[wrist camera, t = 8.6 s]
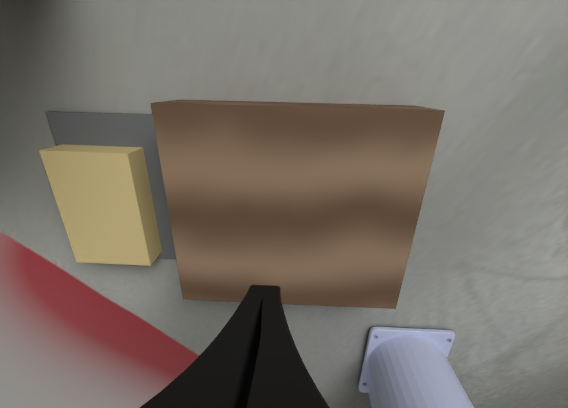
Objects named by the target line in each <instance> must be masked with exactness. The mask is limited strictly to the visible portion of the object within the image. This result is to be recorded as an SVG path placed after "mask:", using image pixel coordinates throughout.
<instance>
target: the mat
mask: <svg viewBox="0 0 568 408" xmlns="http://www.w3.org/2000/svg"><path fill="white" fill-rule="evenodd" d="M46 115H47V118H48V121H49V124H50V128H51V131H52V134H53V137H54V140H55V143H56V146H58V145H62V144H65V145H91V146H117V147H143V149H144V155H145V160H146V166H147V171H148V177H149V183H150V188H151V194H152V199H153V205H154V210H155V216H156V221H157V227H158V232H159V238H160V243H161V249H162V252H161V253H160V255H159V256H158V257H157V258H170V259H176V253H175V247H174V241H173V235H172V229H171V223H170V217H169V211H168V205H167V199H166V193H165V187H164V181H163V175H162V169H161V163H160V157H159V151H158V145H157V139H156V133H155V127H154V121H153V115H152V114H123V113H86V112H46Z"/></svg>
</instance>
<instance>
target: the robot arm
mask: <svg viewBox="0 0 568 408" xmlns="http://www.w3.org/2000/svg"><path fill="white" fill-rule="evenodd" d="M374 335H375V336H374ZM454 339H455V334H454V332H453V331H451V330H435V329H413V328H392V327H372V328H371V329H370V331H369V336H368V341H367V346H366V351H365V356H364V360H363V365H362V370H361V375H360V380H359V385H358V389H359V391H360V392H362V393H368V394H369V398H370V403H371V407H372V408H474V407H473V405H472V403H471V402H470V400H469V398H468V396H467V394H466V393H465V391H464V389H463V387H462V385H461V384H460V382H459V380H458V378H457V376H456V375H455V373H454V371H453V369H452V367H451V366H450V364H449V362H448V360H447V357H448V354H449V351H450V349H451V346H452V344H453V341H454ZM140 408H330V407H329V406H328V404H327V403H326V401H325V400H324V398H323V397H322V395H321V393H320V392H319V390H318V389H317V387H316V385H315V383H314V382H313V380H312V378H311V376H310V374H309V373H308V371H307V369H306V367H305V365H304V363H303V361H302V359H301V357H300V355H299V353H298V350H297V348H296V346H295V343H294V341H293V338H292V336H291V333H290V330H289V327H288V324H287V321H286V318H285V314H284V311H283V307H282V302H281V294H280V287H279V286H272V285H251V286H250V288H249V290H248V292H247V293H246V295H245V297H244V299H243V300H242V302H241V304H240V305H239V307H238V308H237V310H236V311H235V313H234V314H233V316H232V317H231V319H230V320H229V321H228V323H227V324H226V325H225V327H224V328H223V329H222V331H221V332H220V333H219V334H218V336H217V337H216V338H215V339H214V340H213V342H212V343H211V344H210V345H209V346H208V347H207V348H206V350H205V351H204V352H203V353H202V354H201V355H200V356H199V357H198V358H197V359H196V360H195V361H194V362H193V363H192V364H191V365H190V366H189V367H188V368H187V369H186V370H185V371H184V372H183V373H181V374H180V375H179V376H178V377H177V378H176V379H175V380H174V381H172V382H171V383H170V384H169V385H168V386H167V387H166V388H165V389H163V390H162V391H161V392H160V393H158V394H157V395H156V396H154V397H153V398H152V399H151V400H149V401H148V402H147V403H145V404H144V405H143V406H141V407H140Z"/></svg>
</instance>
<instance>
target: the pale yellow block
mask: <svg viewBox="0 0 568 408" xmlns="http://www.w3.org/2000/svg"><path fill="white" fill-rule="evenodd" d="M39 152H40V155H41V158H42V161H43V164H44V167H45V170H46V173H47V176H48V179H49V182H50V185H51V188H52V191H53V194H54V197H55V199H56V202H57V205H58V208H59V211H60V214H61V217H62V220H63V223H64V226H65V229H66V232H67V235H68V238H69V241H70V244H71V247H72V250H73V253H74V256H75V259H76V261H77V262H85V263H106V264H126V265H147V266H151V265H152V263H153V262H154V261H155V260H156V258H157V257H158V256H159V255H160V253H161V252H162V249H161V243H160V238H159V232H158V227H157V221H156V216H155V210H154V205H153V199H152V194H151V188H150V183H149V177H148V171H147V166H146V160H145V155H144V149H143V147H117V146H91V145H65V144H62V145H58V146H54V147H50V148H46V149H42V150H39Z"/></svg>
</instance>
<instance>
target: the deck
mask: <svg viewBox="0 0 568 408" xmlns="http://www.w3.org/2000/svg"><path fill="white" fill-rule="evenodd" d="M151 109H152V115H153V121H154V127H155V133H156V139H157V145H158V151H159V157H160V163H161V169H162V175H163V181H164V187H165V193H166V199H167V205H168V211H169V217H170V223H171V229H172V235H173V241H174V247H175V253H176V259H177V265H178V271H179V277H180V283H181V289H182V295H183V299H188V300H210V301H233V302H242V300H243V299H244V297H245V295H246V293H247V292H248V290H249V288H250V286H251V285H272V286H279V287H280V294H281V302H282V304H300V305H322V306H344V307H366V308H389V309H396V305H397V301H398V297H399V293H400V289H401V285H402V281H403V277H404V273H405V269H406V265H407V261H408V257H409V253H410V249H411V245H412V241H413V237H414V233H415V229H416V225H417V221H418V217H419V213H420V209H421V205H422V200H423V196H424V192H425V188H426V184H427V180H428V176H429V172H430V168H431V164H432V160H433V156H434V152H435V148H436V144H437V140H438V136H439V132H440V128H441V124H442V120H443V116H444V112H445V111H444V110H437V109H431V108H425V107H419V106H405V105H366V104H326V103H286V102H247V101H207V100H173V101H165V102H156V103H151Z"/></svg>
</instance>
